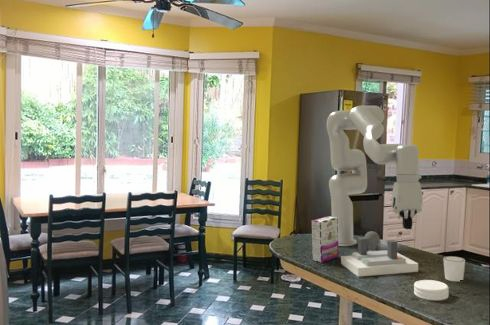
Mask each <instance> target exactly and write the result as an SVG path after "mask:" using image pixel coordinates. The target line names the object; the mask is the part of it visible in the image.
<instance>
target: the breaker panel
mask: <svg viewBox="0 0 490 325" xmlns="http://www.w3.org/2000/svg"><path fill="white" fill-rule="evenodd" d="M364 237H365V236H363V237H357V252H352V254H351V255H341V256H340V264H341V265H342V267H344V268H346V269H347V270H349V271H350V272H351V273H352V274H354V275H355V276H357V277H369V276H380V275H394V274H405V273H406V274H407V273H418V272H419V263H418V262H416V261H414V260H413V259H410V258H409V257H407V256H405V255H402V254H401V253H399V252H397V258H389V257H388V256H387V249H385V250H375V251H369V250H368V246H367V239H366V238H364Z"/></svg>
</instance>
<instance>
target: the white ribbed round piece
mask: <svg viewBox="0 0 490 325" xmlns="http://www.w3.org/2000/svg"><path fill="white" fill-rule="evenodd" d="M413 290H414V291H413V293H414V294H413V295H415V296H416V297H417V298H418V299H423V300H427V301H433V302H434V301H445V300H448V298H449V297H450V296H449V295H450V294H449V292H450V291H449V285H447V283H444V282H442V281H438V280H433V279H422V280H417V281H415V282H414V283H413Z"/></svg>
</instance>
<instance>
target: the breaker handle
mask: <svg viewBox="0 0 490 325" xmlns="http://www.w3.org/2000/svg"><path fill="white" fill-rule="evenodd" d="M386 247H387V249H386V250H387V256H388V257H389V258H397V253H398V240H397V241H396V240H394V239H388V240H387V246H386Z"/></svg>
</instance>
